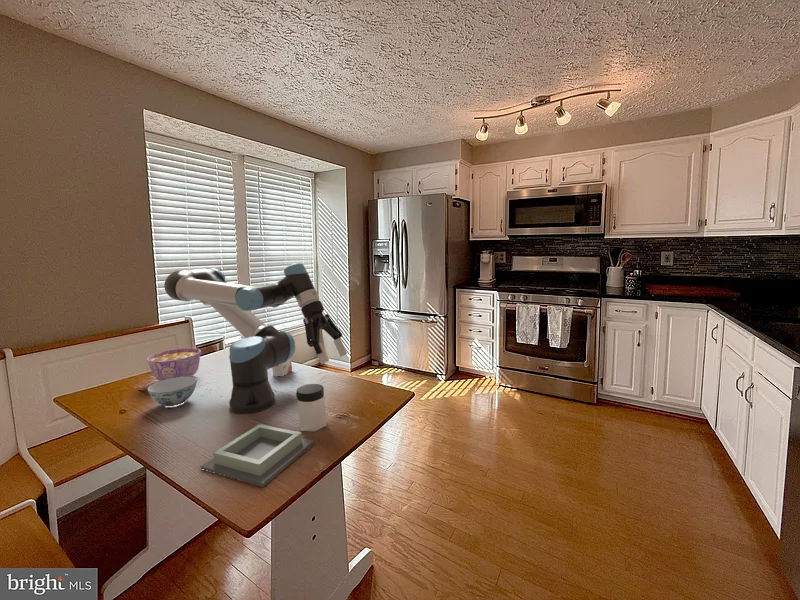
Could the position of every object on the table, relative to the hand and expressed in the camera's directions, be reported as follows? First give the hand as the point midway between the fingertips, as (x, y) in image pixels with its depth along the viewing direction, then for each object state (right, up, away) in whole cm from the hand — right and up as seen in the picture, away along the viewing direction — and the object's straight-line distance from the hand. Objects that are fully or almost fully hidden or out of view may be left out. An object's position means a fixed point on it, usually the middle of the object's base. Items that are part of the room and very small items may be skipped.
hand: (335, 358), depth 129 cm
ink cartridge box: (-29, -12, +35) cm, 47 cm away
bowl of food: (-73, -14, +31) cm, 81 cm away
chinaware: (-59, -18, +5) cm, 62 cm away
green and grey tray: (-15, -21, -30) cm, 40 cm away
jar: (-4, -19, -14) cm, 24 cm away
